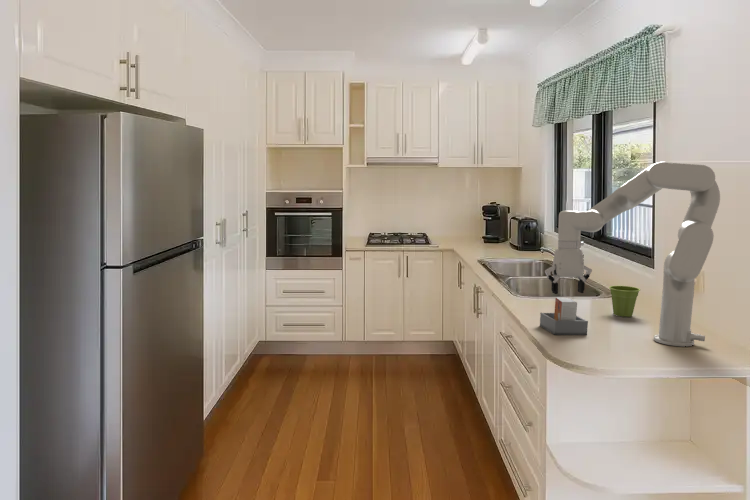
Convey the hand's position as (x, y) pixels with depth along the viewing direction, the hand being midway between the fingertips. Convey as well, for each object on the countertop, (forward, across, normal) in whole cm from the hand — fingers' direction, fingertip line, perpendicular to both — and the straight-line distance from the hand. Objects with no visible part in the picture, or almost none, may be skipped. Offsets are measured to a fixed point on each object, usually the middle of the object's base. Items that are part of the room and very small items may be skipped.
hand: (567, 292), depth 222 cm
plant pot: (+15, -35, -25) cm, 46 cm away
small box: (+13, +1, 0) cm, 13 cm away
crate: (+14, +1, -1) cm, 14 cm away
